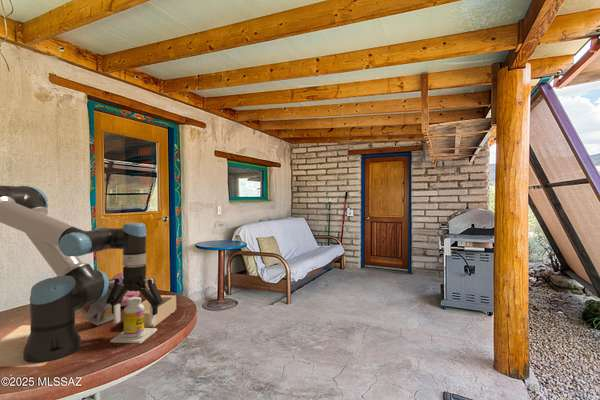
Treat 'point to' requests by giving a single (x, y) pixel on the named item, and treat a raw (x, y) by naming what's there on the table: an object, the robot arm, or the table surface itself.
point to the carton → (159, 309)
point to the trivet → (136, 339)
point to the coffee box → (103, 307)
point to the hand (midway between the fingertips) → (134, 323)
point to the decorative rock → (129, 293)
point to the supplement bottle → (133, 317)
